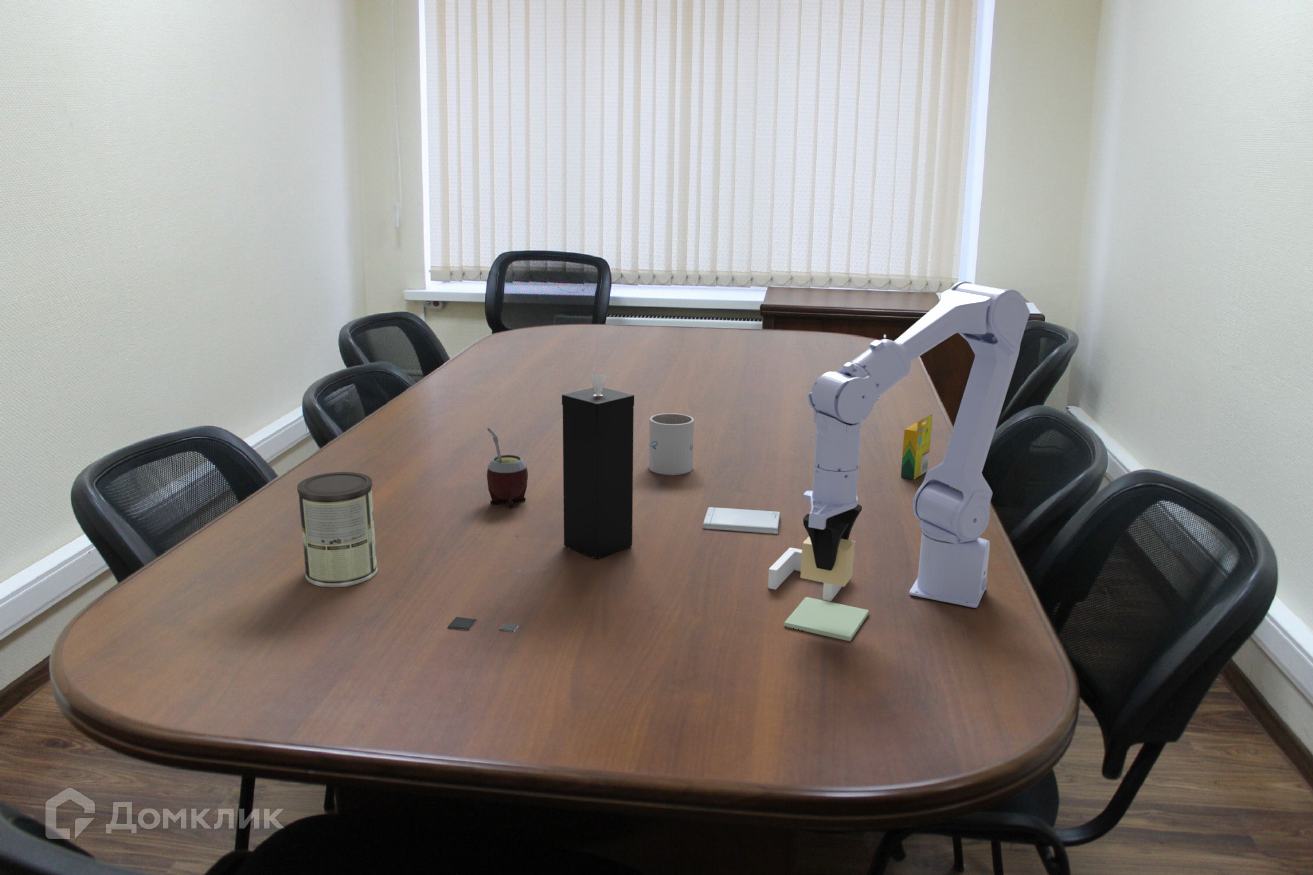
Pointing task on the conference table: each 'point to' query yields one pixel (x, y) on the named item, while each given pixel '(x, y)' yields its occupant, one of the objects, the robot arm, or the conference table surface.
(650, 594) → the conference table surface
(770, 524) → the hard drive
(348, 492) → the coffee can
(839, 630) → the mat
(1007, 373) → the robot arm
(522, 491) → the mate gourd
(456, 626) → the black square blocks
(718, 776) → the conference table surface
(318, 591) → the conference table surface
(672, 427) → the mug
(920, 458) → the crayon box
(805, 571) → the block
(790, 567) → the frame
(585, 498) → the tall black box
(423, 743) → the conference table surface
